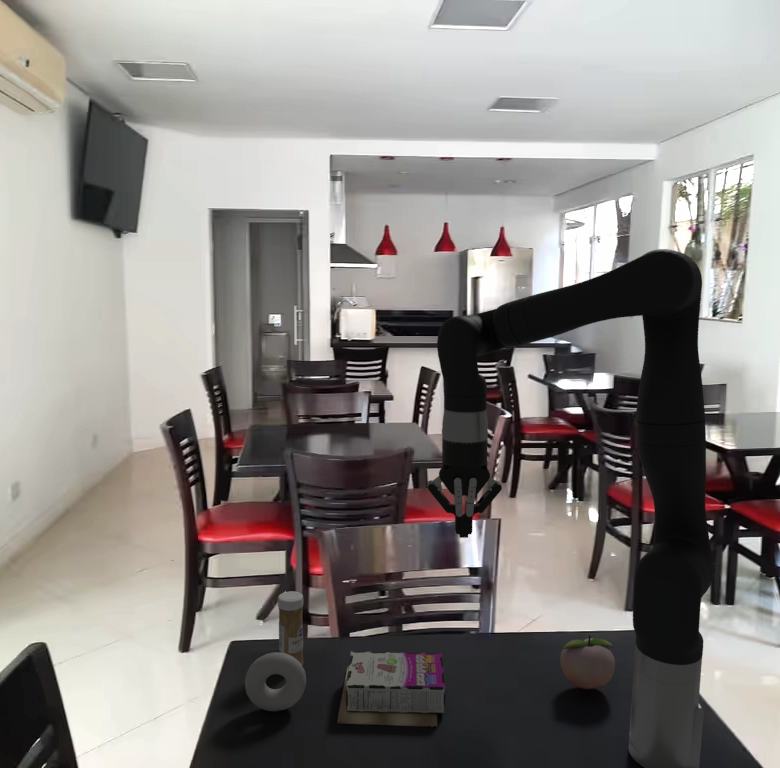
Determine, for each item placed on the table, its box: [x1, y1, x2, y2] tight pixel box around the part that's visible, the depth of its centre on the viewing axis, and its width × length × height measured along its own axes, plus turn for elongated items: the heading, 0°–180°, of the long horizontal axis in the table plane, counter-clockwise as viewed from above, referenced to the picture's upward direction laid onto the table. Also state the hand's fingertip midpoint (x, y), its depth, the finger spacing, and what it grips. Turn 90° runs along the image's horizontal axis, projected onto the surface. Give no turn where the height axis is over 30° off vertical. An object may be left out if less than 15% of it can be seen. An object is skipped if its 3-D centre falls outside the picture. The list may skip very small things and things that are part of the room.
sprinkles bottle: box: [277, 591, 304, 666], centre depth 132 cm, size 5×5×14 cm
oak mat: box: [336, 666, 438, 728], centre depth 123 cm, size 16×16×1 cm
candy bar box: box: [346, 650, 447, 714], centre depth 122 cm, size 11×5×16 cm
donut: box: [244, 651, 307, 712], centre depth 118 cm, size 10×4×10 cm, turn 97°
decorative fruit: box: [560, 634, 616, 690], centre depth 125 cm, size 9×8×10 cm
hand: (463, 536), depth 122 cm, fingers closed
